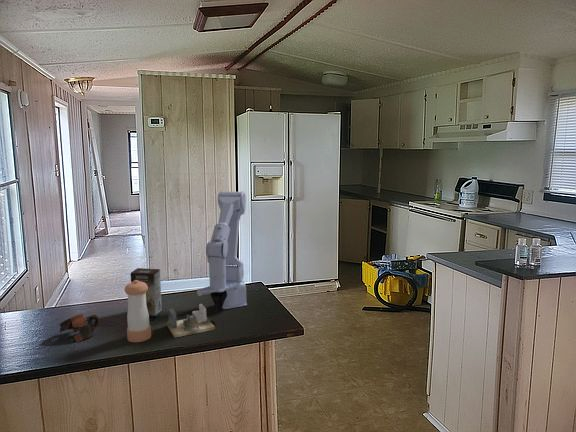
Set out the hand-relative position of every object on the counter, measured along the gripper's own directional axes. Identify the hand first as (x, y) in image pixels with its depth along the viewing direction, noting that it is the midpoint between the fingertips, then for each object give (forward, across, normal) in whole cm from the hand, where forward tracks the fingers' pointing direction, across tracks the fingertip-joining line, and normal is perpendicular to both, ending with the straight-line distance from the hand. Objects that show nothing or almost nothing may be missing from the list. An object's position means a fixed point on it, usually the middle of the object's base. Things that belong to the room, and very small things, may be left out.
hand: (218, 311), depth 154 cm
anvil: (+3, -16, 0) cm, 16 cm away
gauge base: (+3, -11, -2) cm, 11 cm away
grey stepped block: (+2, -8, -1) cm, 9 cm away
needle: (+1, -13, -5) cm, 14 cm away
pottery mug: (+3, -44, +8) cm, 45 cm away
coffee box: (+3, -22, +19) cm, 29 cm away
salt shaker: (+3, -28, -2) cm, 28 cm away
